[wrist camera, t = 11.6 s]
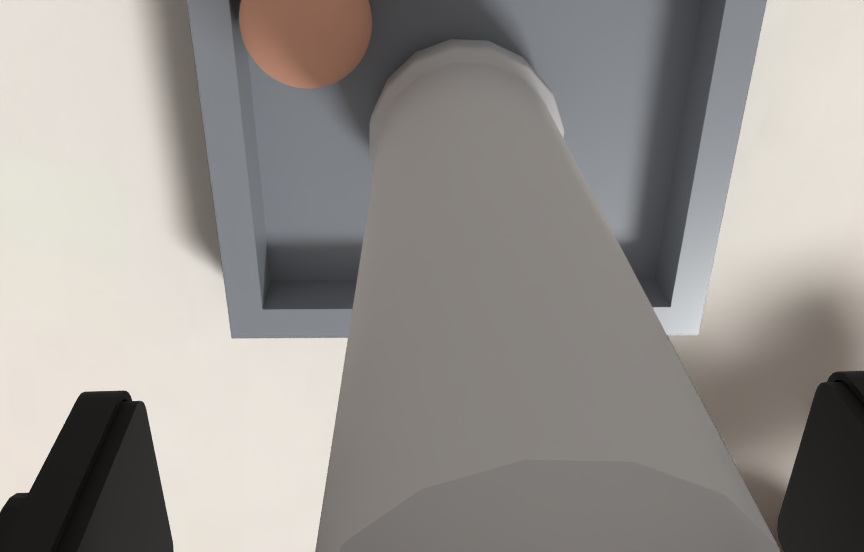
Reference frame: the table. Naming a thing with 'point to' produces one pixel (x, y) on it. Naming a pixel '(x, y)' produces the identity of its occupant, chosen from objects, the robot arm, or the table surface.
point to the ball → (306, 38)
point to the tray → (583, 133)
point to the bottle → (510, 346)
